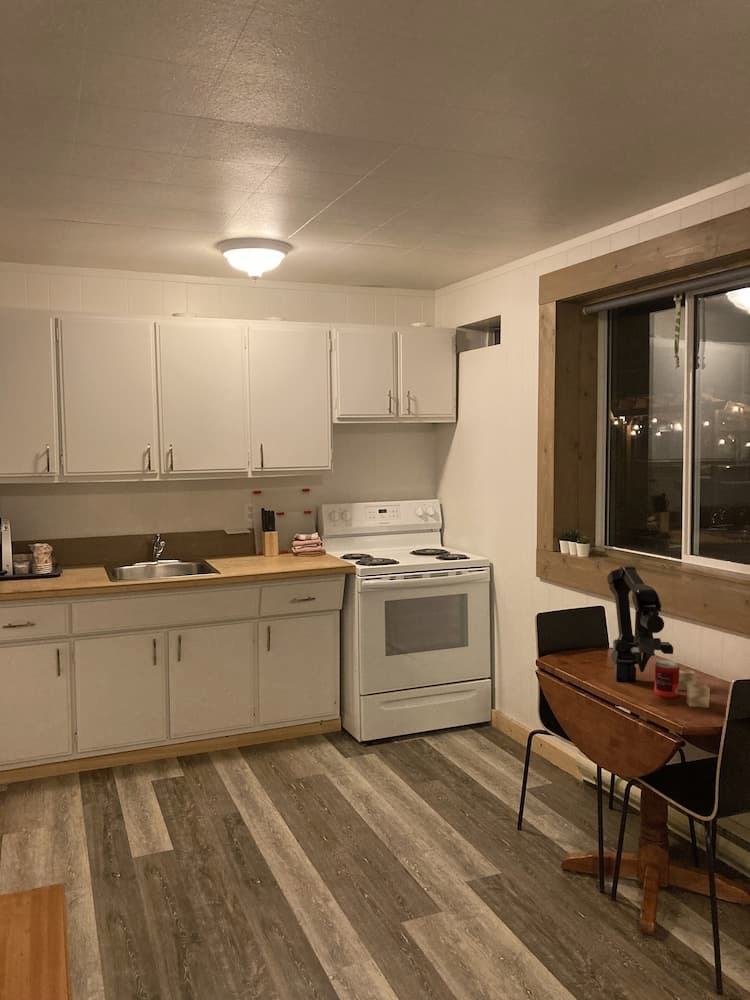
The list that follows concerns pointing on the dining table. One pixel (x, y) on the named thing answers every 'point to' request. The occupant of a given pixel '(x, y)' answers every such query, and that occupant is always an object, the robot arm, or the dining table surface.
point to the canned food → (666, 679)
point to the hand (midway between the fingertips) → (641, 671)
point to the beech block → (698, 695)
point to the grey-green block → (686, 679)
